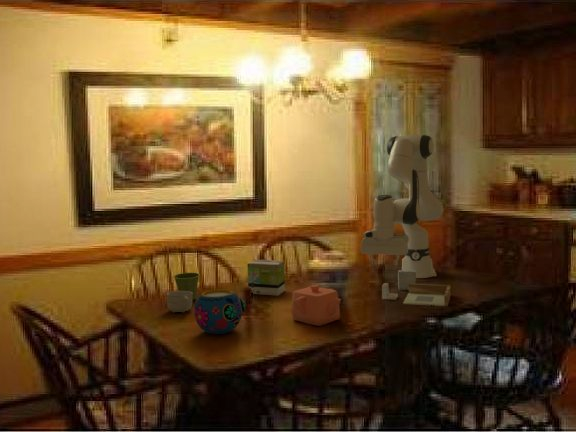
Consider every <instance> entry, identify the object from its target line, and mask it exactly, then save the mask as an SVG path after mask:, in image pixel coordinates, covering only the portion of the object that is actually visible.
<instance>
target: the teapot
mask: <svg viewBox="0 0 576 432" xmlns="http://www.w3.org/2000/svg"><path fill="white" fill-rule="evenodd" d="M341 301H342V298H339V293H338V291H337V290H335V289H334V288H327V287H320V285H318V284H312V285H310V286H307V287H305V288H301V289H296V290H294V291H292V299H291V317H292V320H294V321H297V322H300V323H304V324H307V325H312V326H316V327H319V326H324V325H327V324H330V323H333V322H334V321H338V320H339V319H340V315H341V313H340V311H341V310H340V304H341Z"/></svg>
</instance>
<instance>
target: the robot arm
mask: <svg viewBox="0 0 576 432" xmlns="http://www.w3.org/2000/svg"><path fill="white" fill-rule="evenodd" d="M433 151H434V141H433V138H432V137H431V136H430V135H426V134H422V135H421V134H420V135H419V134H408V135H401V136H400V135H399V136H397V135H396V136H393V137H390V138H389V139H388V140H387V143H386V153H387V155H389V157H388V160H387V172H388V173H389V175H390V176H391V177H392V178H393V179H395V180H396V181H400V182H403V183H404V187H405V188H406V189H407V190H408V198H407V197H405V198H398V199H395V200H394V199H393V196H392V195H390V194H380V195H377V196H376V197H374V202H373V219H374V222H373V228H371V229H369V230H367V231H364V232H363V237H362V240H361V245H360V253H361V254H362V255H368V257H369V259H370V261H371V265H376V264H377V260H376V259H374V257H373V256H374V255H387V256H389V255H392V256H395V258H396V259H395V260H393V266H398V262H399V259H400V257H401V256H404V257H403V258H402V259H401V270H415V271H416V279H426V278H432V277H437V276H438V275H437V272H436V269H435V268H434V265H433V259H432V258H431V256H430V247H429V233H428V231H427V230H426V229H425V228H424V227H422V226H420V225H418V223H417V222H419V221H435V220H439V219H440V218H441V217H442V216H443V214H444V205H443V203H442V201H441V200H439V199H438V198H437V197H436V196H435V195H434V194H433V193H432V191H431V189H430V188H429V187H430V186H429V179H428V163H427V158H430V156H431V155H432V154H433ZM395 224H400V226H402V229H403V233H401V232H398V233H397V232H395Z"/></svg>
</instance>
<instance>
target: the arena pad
mask: <svg viewBox="0 0 576 432" xmlns="http://www.w3.org/2000/svg"><path fill="white" fill-rule="evenodd" d="M450 297H451V295H450ZM449 302H450V300H449V301H448V305H449ZM402 305H410V306H411V305H412V306H415V305H416V306H431V305H432V307H434V306H435V307H448V305H446V306H444V295H443V294H421V293H409V292H408V293H407V295H406V297H405V298H404V301H402ZM433 305H434V306H433Z"/></svg>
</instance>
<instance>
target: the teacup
mask: <svg viewBox="0 0 576 432" xmlns="http://www.w3.org/2000/svg"><path fill="white" fill-rule="evenodd" d="M192 294H193V293H192V292H190V291H178V290H172V291H168V292H167V293H166V303H167V304H166V306H167V308H168V309H169V310H170V311H171V312H172V313H175V312H182V313H186V312H185V311H187V312H188V311H190V309H191V308H192V306H193V300H192Z"/></svg>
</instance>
